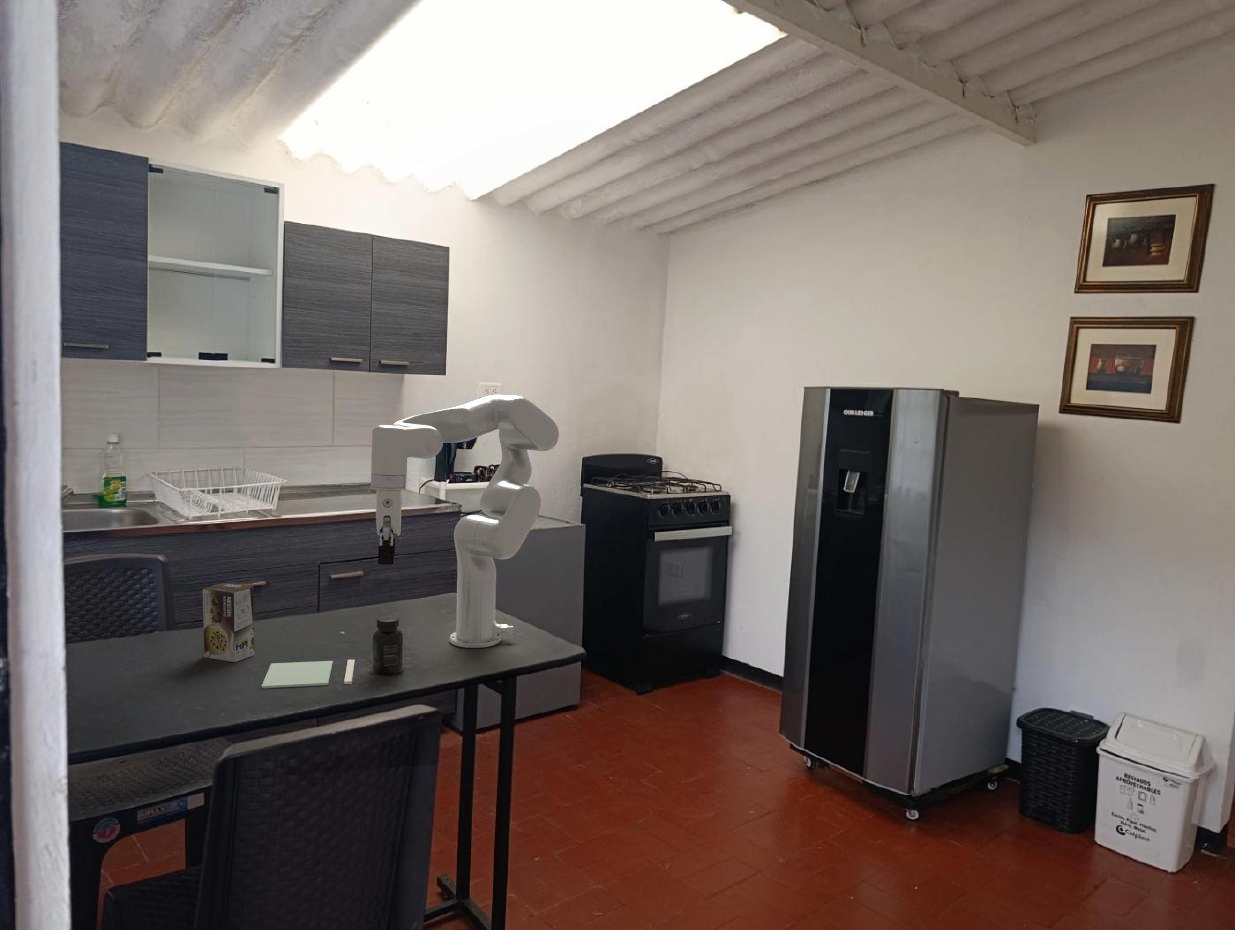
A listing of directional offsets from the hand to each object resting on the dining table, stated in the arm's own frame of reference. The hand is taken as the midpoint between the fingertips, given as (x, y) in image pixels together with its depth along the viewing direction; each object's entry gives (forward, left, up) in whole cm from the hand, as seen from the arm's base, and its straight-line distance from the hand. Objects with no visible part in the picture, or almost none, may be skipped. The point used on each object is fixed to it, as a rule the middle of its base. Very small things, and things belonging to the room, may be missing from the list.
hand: (386, 559), depth 186 cm
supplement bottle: (-1, +1, -25) cm, 25 cm away
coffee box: (+34, -14, -25) cm, 45 cm away
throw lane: (+16, +1, -25) cm, 30 cm away
